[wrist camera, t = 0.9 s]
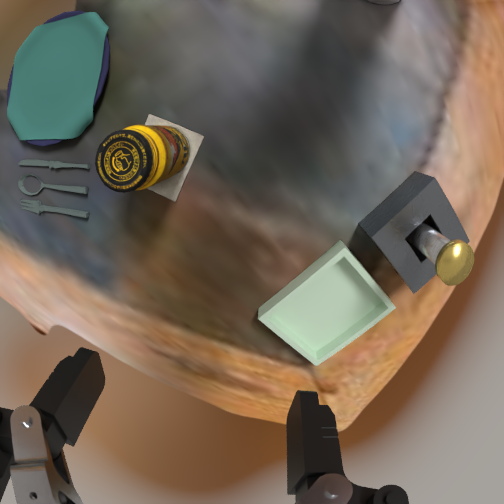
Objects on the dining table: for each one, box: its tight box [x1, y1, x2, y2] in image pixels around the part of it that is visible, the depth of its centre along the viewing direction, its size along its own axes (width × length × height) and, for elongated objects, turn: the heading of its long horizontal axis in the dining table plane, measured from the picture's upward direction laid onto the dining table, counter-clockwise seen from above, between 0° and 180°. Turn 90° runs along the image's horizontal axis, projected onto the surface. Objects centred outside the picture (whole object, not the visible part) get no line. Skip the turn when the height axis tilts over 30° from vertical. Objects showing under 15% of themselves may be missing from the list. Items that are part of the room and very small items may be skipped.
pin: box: [406, 222, 474, 286], centre depth 29 cm, size 4×4×12 cm
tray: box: [258, 240, 396, 366], centre depth 38 cm, size 14×12×2 cm
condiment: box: [95, 114, 204, 202], centre depth 27 cm, size 7×8×12 cm
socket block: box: [358, 171, 469, 294], centre depth 32 cm, size 10×10×5 cm
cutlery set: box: [7, 11, 110, 218], centre depth 29 cm, size 20×30×2 cm, turn 171°
